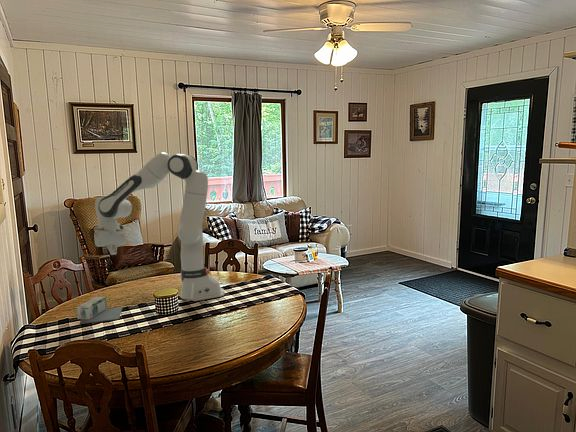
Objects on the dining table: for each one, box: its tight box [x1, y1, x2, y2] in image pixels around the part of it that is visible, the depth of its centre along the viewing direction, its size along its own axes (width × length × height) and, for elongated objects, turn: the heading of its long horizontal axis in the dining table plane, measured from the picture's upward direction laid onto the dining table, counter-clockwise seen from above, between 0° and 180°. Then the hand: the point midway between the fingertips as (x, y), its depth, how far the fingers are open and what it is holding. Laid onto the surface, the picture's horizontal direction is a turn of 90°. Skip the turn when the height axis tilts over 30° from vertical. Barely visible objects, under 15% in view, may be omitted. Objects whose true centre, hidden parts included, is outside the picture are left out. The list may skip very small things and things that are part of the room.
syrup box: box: [76, 296, 108, 320], centre depth 195 cm, size 6×6×14 cm
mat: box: [79, 306, 123, 325], centre depth 193 cm, size 16×16×1 cm
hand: (113, 254), depth 215 cm, fingers closed
